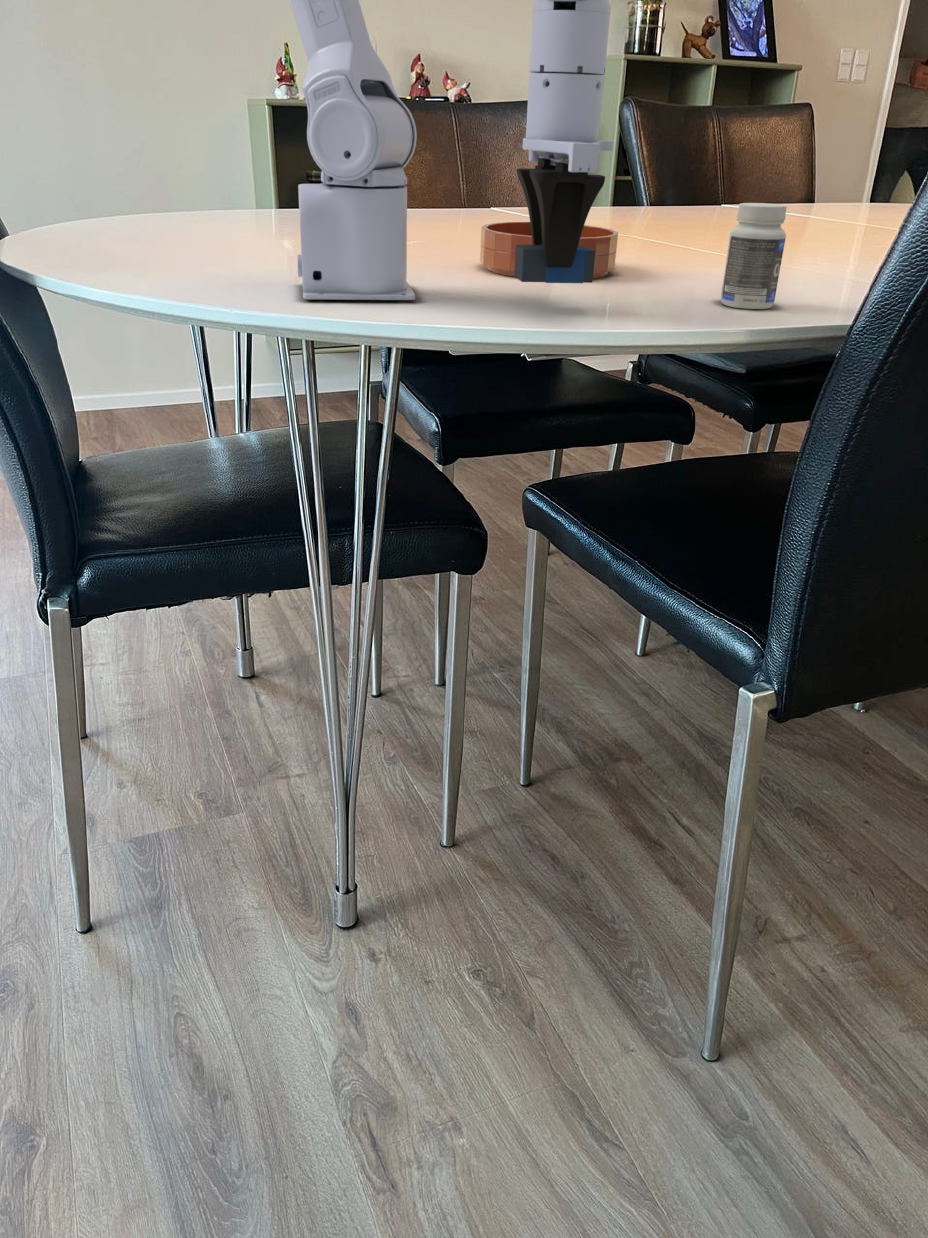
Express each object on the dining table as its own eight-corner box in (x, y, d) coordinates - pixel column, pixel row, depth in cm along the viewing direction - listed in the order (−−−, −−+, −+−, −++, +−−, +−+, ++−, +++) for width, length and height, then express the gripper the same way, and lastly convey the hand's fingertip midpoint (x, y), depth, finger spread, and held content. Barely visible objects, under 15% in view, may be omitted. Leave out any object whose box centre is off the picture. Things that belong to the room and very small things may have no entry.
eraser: (521, 282, 78) (523, 248, 77) (514, 276, 81) (515, 243, 80) (592, 283, 79) (595, 249, 78) (583, 277, 82) (585, 244, 80)
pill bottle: (779, 310, 84) (798, 207, 80) (726, 308, 84) (742, 205, 80) (765, 301, 89) (783, 202, 85) (714, 299, 89) (729, 200, 85)
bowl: (493, 280, 94) (495, 236, 92) (470, 259, 106) (472, 220, 104) (631, 281, 96) (635, 239, 94) (593, 261, 108) (596, 222, 106)
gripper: (647, 74, 67) (626, 278, 74) (591, 78, 80) (577, 251, 86) (549, 70, 66) (536, 277, 73) (508, 74, 79) (500, 250, 85)
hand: (553, 263), depth 79 cm, fingers closed on eraser, 3 cm apart
